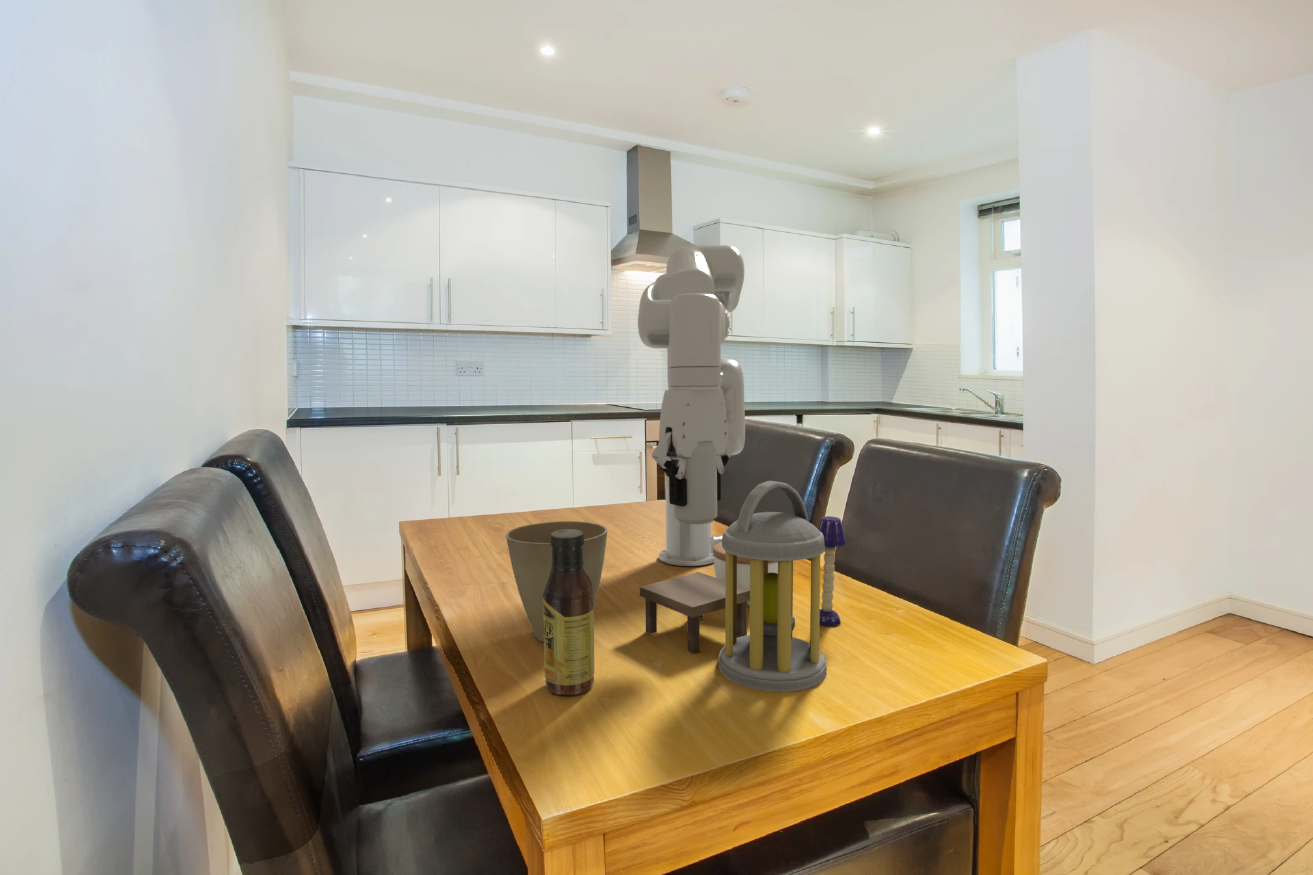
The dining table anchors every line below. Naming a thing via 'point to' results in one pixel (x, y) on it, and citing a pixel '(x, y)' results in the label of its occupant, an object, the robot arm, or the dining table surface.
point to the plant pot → (550, 562)
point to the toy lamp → (830, 567)
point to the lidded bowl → (742, 567)
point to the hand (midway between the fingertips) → (695, 501)
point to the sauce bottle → (568, 618)
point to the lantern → (772, 597)
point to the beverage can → (700, 486)
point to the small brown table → (693, 602)
